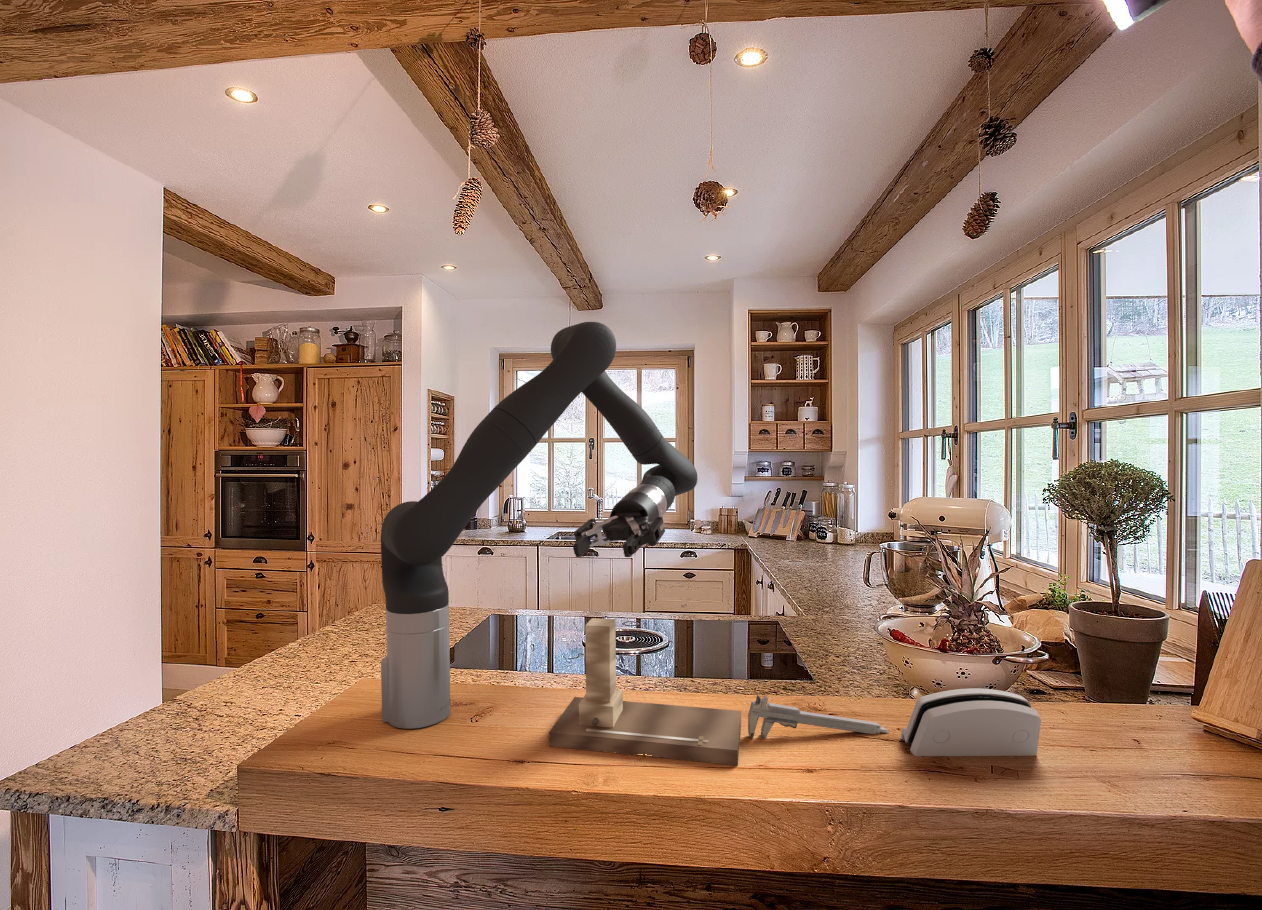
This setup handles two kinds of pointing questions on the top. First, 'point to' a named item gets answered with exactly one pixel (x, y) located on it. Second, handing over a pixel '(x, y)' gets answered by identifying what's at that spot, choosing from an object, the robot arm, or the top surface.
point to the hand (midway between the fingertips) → (600, 551)
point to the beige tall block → (600, 676)
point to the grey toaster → (973, 724)
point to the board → (656, 732)
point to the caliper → (802, 719)
